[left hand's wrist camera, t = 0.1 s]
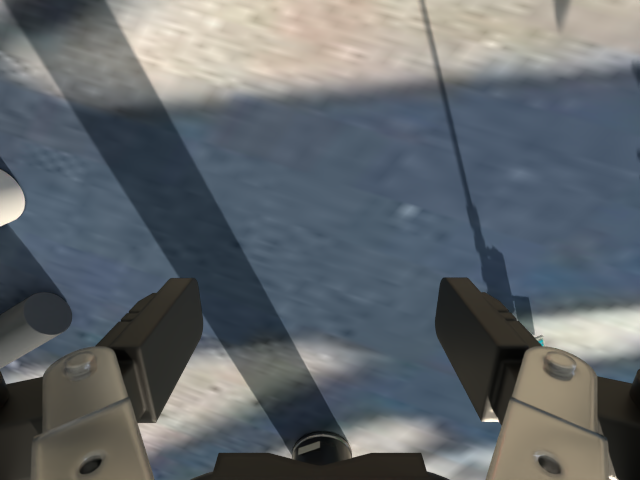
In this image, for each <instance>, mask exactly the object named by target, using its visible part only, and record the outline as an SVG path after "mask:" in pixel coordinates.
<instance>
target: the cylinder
mask: <svg viewBox="0 0 640 480" xmlns="http://www.w3.org/2000/svg"><path fill="white" fill-rule="evenodd" d="M71 321H72V312H71V309H70V307H69V305H68V304H67V303H66V301H64V300H63V299H62V298H61V297H59V296H57V295H55V294H52V293H48V292H41V293H36V294H33V295H32V296H30V297H28V298H27V299H25V300H23V301H22V302H20V303H19V304H17V305H15V306H14V307H12V308H11V309H9V310H7V311H6V312H4V313H2V314H1V315H0V369H1V368H2V367H4V366H6V365H7V364H9V363H11V362H13V361H14V360H16V359H18V358H20V357H21V356H23V355H25V354H26V353H28V352H30V351H32V350H33V349H35V348H37V347H39V346H40V345H42V344H44V343H45V342H47V341H49V340H51V339H52V338H54V337H56V336H58V335H59V334H61V333H63V332H64V331H66V330H67V329H68V327H69V326H70V324H71Z"/></svg>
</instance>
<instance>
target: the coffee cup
mask: <svg viewBox="0 0 640 480" xmlns="http://www.w3.org/2000/svg"><path fill="white" fill-rule="evenodd" d="M24 206H25V199H24V195H23V192H22V190H21V188H20V186H19V185H18V183H17V182H16V181H15V180H14V179H13V178H12V177H11V176H10V175H9V174H7V173H6V172H4V171H2V170H0V226H2V225H4V224H7V223H9V222H11V221H13V220H15V219H17V218H18V217H19V216H20V215H21V214H22V212H23V210H24Z"/></svg>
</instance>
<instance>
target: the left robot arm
mask: <svg viewBox="0 0 640 480" xmlns="http://www.w3.org/2000/svg"><path fill="white" fill-rule="evenodd" d="M435 329H436V334H437V337H438V339H439V341H440V343H441V345H442V347H443V349H444V351H445V353H446V355H447V357H448V358H449V360H450V362H451V364H452V366H453V368H454V370H455V372H456V374H457V376H458V378H459V379H460V381H461V383H462V385H463V387H464V389H465V391H466V393H467V395H468V397H469V399H470V400H471V402H472V404H473V406H474V408H475V410H476V412H477V414H478V416H479V418H480V420H481V421H482V422H500V424H501V425H502V427H501V430H500V434H499V437H498V440H497V444H496V447H495V450H494V453H493V457H492V460H491V463H490V467H489V470H488V473H487V477H486V480H640V369H639V370H638V371H637V374H636V376H635V379H634V381H633V384H632V383H627V382H622V381H617V380H612V379H607V378H603V377H598V376H597V375H596V373H595V371H594V370H593V369H592V368H591V367H590V366H589V365H588V364H587V363H586V362H584V361H583V360H581V359H580V358H578V357H576V356H575V355H573V354H570V353H568V352H566V351H563V350H560V349H556V348H552V347H545V346H542V345H541V344H540V343H539V342H538V341H537V340H536V339H535V338H534V337H533V336H532V334H531V333H530V332H529V331H528V330H527V329H526V328H525V327H524V326H523V325H522V324H521V323H520V322H519V321H517V320H516V318H515V317H514V316H513V315H512V314H511V313H509V310H508V309H507V308H506V307H505V306H504V305H503V304H502V303H501V302H500V301H499V300H497V299H495V298H494V297H492V296H490V295H488V294H487V293H485V292H480V291H479V290H478V288H477V287H476V286H475V285H474V284H473V283H472V282H471V281H470V280H469V279H468V278H443V279H442V280H441V283H440V288H439V295H438V302H437V310H436V317H435ZM202 331H203V316H202V309H201V302H200V294H199V287H198V283H197V280H196V279H195V278H170V279H169V280H168V281H167V282H166V283H165V284H164V286H163V287H162V288H161V289H160V290H159V291H158V292H157V293H152V294H150V295H149V296H147V297H145V298H144V299H142V300H140V301H138V302H137V303H136V304H135V306H134V307H133V308H132V309H131V310H130V311H129V313H127V314H126V315H125V316H124V317H123V318H122V319H121V322H118V323H117V324H116V325H115V326H114V327H113V328H112V329H111V330H110V331H109V332H108V334H107V335H106V336H105V337H104V338H103V339H102V340H101V341H100V342H99V343H98V344H97V345H96V346H95V347H88V348H84V349H80V350H77V351H74V352H72V353H70V354H67V355H65V356H64V357H62V358H60V359H59V360H57V361H56V362H54V363H53V364H52V365H51V366H50V367H49V368H48V369H47V370H46V371H45V373H44V375H43V377H40V378H35V379H30V380H25V381H20V382H16V383H11V384H6V383H5V381H4V379H3V376H2V374H1V372H0V480H154V477H153V473H152V470H151V467H150V463H149V460H148V457H147V453H146V450H145V447H144V444H143V440H142V437H141V434H140V430H139V427H138V424H137V423H156V421H157V420H158V418H159V416H160V414H161V412H162V410H163V408H164V406H165V405H166V403H167V401H168V399H169V397H170V395H171V393H172V391H173V389H174V388H175V386H176V384H177V382H178V380H179V378H180V376H181V374H182V372H183V371H184V369H185V367H186V365H187V363H188V361H189V359H190V357H191V355H192V354H193V352H194V350H195V348H196V346H197V344H198V342H199V340H200V338H201V335H202ZM191 480H449V479H447V478H445V477H442V476H439V475H437V474H434V473H431V472H427V471H426V468H425V464H424V461H423V457H422V454H421V453H369V454H365V455H362V456H358V457H354V458H352V451H351V447H350V445H349V444H348V442H347V441H346V440H345V439H343V438H342V437H340V436H338V435H336V434H333V433H328V432H316V433H311V434H308V435H306V436H304V437H302V438H301V439H300V440H298V441H297V443H296V444H295V446H294V448H293V452H292V459H290V458H286V457H282V456H278V455H275V454H271V453H219V454H218V457H217V461H216V464H215V468H214V471H213V472H209V473H206V474H203V475H201V476H198V477H195V478H193V479H191Z"/></svg>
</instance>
